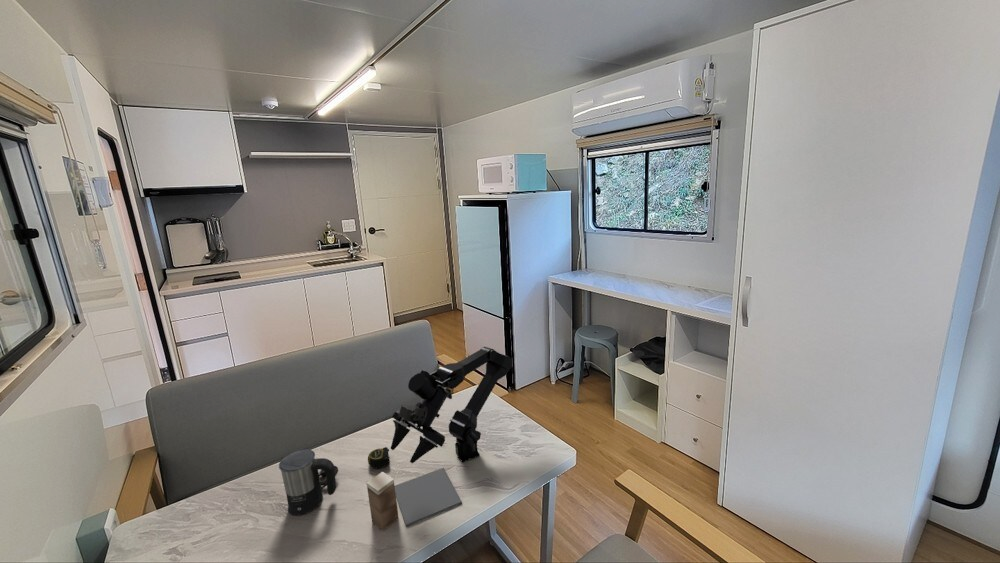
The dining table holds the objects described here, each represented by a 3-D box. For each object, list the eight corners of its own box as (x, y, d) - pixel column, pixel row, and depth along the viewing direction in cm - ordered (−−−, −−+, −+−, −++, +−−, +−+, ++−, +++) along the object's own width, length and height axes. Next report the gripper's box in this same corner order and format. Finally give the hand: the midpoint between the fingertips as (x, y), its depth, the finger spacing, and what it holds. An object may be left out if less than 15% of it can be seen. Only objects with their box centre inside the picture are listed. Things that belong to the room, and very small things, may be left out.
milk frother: (286, 521, 105) (277, 475, 102) (290, 484, 119) (281, 442, 116) (341, 502, 111) (334, 458, 107) (338, 469, 125) (332, 428, 121)
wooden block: (387, 509, 107) (382, 471, 104) (398, 518, 104) (393, 479, 101) (372, 522, 103) (366, 482, 101) (383, 531, 100) (377, 490, 98)
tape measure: (390, 467, 124) (389, 457, 124) (368, 472, 122) (367, 462, 122) (389, 454, 131) (388, 445, 130) (368, 459, 129) (367, 449, 128)
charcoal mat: (443, 469, 122) (443, 467, 122) (461, 503, 108) (461, 501, 108) (393, 487, 115) (393, 486, 115) (406, 526, 101) (405, 524, 101)
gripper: (396, 384, 115) (364, 433, 108) (436, 404, 103) (403, 460, 96) (417, 400, 122) (389, 446, 115) (457, 420, 110) (428, 473, 103)
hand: (401, 455), depth 107 cm, fingers open, 9 cm apart
